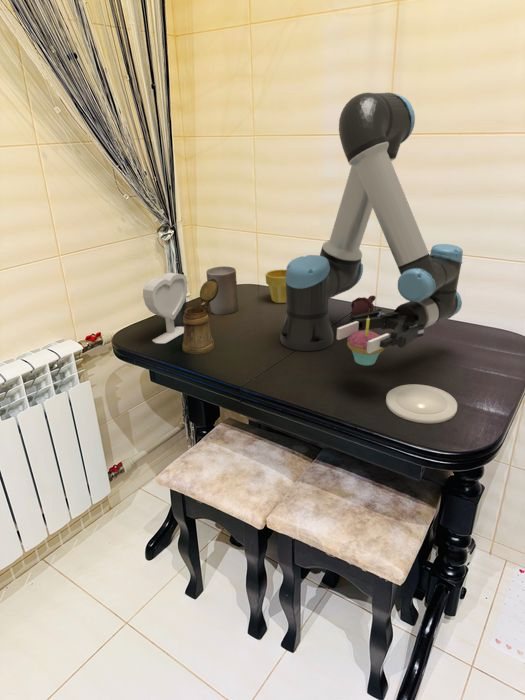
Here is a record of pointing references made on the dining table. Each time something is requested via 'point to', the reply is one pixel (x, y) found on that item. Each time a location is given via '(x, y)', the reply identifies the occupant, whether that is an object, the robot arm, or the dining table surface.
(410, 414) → the saucer
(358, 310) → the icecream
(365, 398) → the dining table surface
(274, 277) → the plant pot
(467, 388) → the dining table surface
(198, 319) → the wooden mug
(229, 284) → the pillar candle
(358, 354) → the cupcake
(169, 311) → the heart sculpture
